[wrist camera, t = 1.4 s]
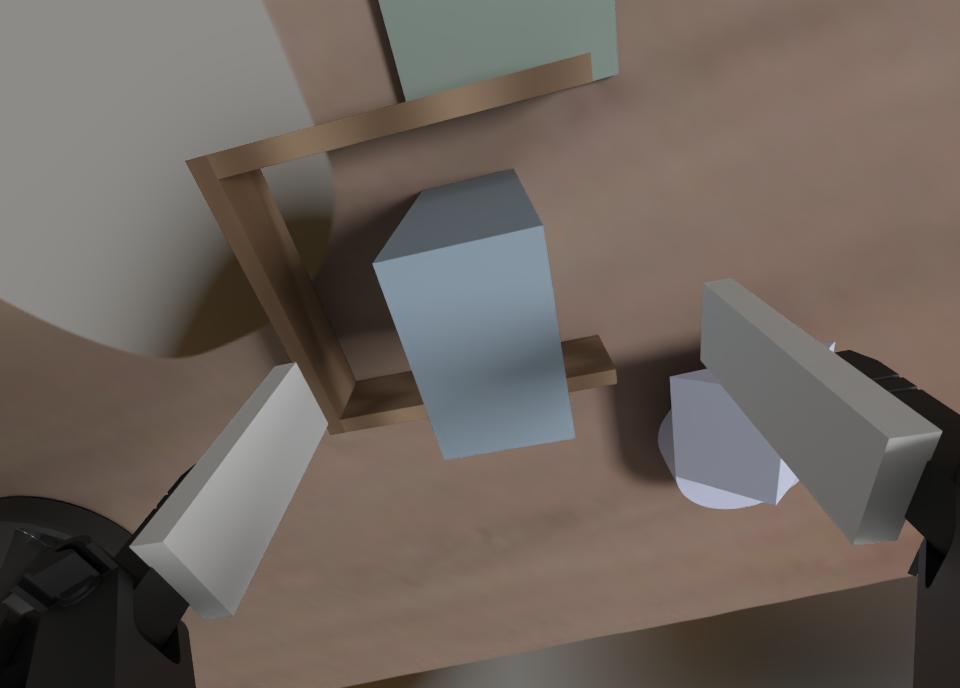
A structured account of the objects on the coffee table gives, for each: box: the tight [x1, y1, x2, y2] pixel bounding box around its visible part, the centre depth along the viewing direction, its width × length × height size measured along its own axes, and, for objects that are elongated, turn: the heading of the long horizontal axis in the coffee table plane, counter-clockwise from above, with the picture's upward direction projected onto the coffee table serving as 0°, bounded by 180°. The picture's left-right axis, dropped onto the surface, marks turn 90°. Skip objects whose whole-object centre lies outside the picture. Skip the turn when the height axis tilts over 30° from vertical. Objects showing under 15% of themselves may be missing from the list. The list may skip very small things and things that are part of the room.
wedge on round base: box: [658, 341, 835, 509], centre depth 27 cm, size 9×7×13 cm
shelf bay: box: [185, 52, 617, 435], centre depth 23 cm, size 18×16×4 cm
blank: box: [372, 169, 575, 460], centre depth 19 cm, size 5×8×12 cm, turn 13°
